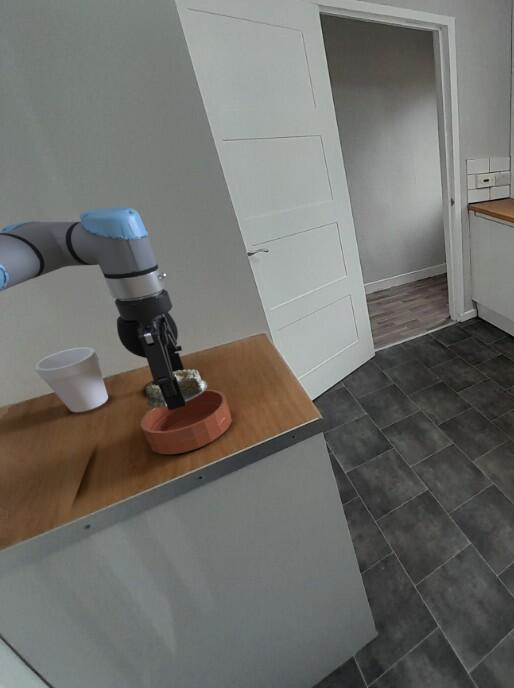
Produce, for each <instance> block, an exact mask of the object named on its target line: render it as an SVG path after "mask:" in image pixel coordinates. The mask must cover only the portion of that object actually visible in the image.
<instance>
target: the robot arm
mask: <svg viewBox="0 0 514 688" xmlns="http://www.w3.org/2000/svg"><path fill="white" fill-rule="evenodd" d="M79 219H80V221H39V220H31V221H27V222H14V223H10V224H7V225H6V226H5V227H3V229H2V230H1V231H0V292H2V291H5V290H7V289H10V288H12V287H14V286H17V285H20V284H22V283H25V282H28V281H30V280H33V279H35V278H38V277H41V276H44V275H46V274H49V273H52V272H55V271H57V270H60V269H62V268H66V267H75V266H76V267H78V266H99V269H100V271H101V273H102V275H103V278H104V281H105V283H106V285H107V289H108V291H109V293H110V295H111V297H112V298H113V299H115V300H114V304H115V306H116V308H117V312H118V315H119V317H120V316H121V318H123V319H125V320H130V321H132V320H135V321H139V325H140V327H137V328H138V333H139V337H138V338H139V339H140V341H141V343H142V346H143V349H144V352H145V355H146V358H145V359H146V361H147V364H148V367H149V370H150V374H151V376H152V381H153V380H154V381H153V382H152V381H150V383H152V385H159V387H160V390H161V392H162V395H163V397H164V400H165V402H166V405H167V407H168V410H172V409H176V408H179V407H183V406H186V402H185V399H184V396H183V394H182V391H181V388H180V386H179V383H178V381H177V378H176V376H174V375H173V372H174V371H178V370H184V369H185V366H184V364H183V361H182V357H181V356H180V353H179V352H181V351H183V347H182V345H178V340H177V341H176V340H175V338H174V335H173V333H172V331H171V328H170V326H169V324H168V322H167V319H166V317H165V313H167V312H168V313H170V311H171V310H172V308H173V303H172V300H171V298H170V297H171V296H170V294H169V292H168V290H166V289H165V288H166V284H165V282H164V279H165V278H166V277H167V275H166V273H165V272H160V268H159V264H158V263H157V261H156V257H155V253H154V251H153V248H152V245H151V242H150V238H149V232H148V229H146V227H145V225H144V223H143V221H142V218H141V216H140V214H139V212H138V211H137V210H135V209H134V208H132V207H125V206H114V207H113V206H112V207H102V208H101V207H100V208H93V209H89V210H84V211H83V212H81V213H80V215H79Z"/></svg>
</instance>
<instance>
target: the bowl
mask: <svg viewBox="0 0 514 688" xmlns="http://www.w3.org/2000/svg"><path fill="white" fill-rule="evenodd" d="M232 419H233V418H232V413H231V409H230V406H229V404H228V400H227V398H226V395H225V394H224V393H223V392H221V391H219V390H215V389H205V390H204V392H202V393H201V394H199V395H198V396H196V397H194V398H193V399H191V400H188V401H186V406H183V407H179V408H176V409H172V410H168V407H161V408H156V407H151V409H149V410H148V411H147V412H146V413H145V415H143V417H142V418H141V422H140V427H141V430H142V432H143V434H144V436H145V438H146V441H147V443H148V446H149V447H150V449H151V451H153V452H154V453H157V454H160V455H177V454H184V453H187V452H191V451H194V450H197V449H199V448H201V447H204V446H206V445H208V444H210V443H212V442H213V441H215V440H216V439H218V438H219V437H220V436H222V435H223V434H224V433H225V432H226V431H227V430H228V428H229V427H230V426H231V423H232V421H233V420H232Z"/></svg>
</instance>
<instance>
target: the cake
mask: <svg viewBox="0 0 514 688" xmlns="http://www.w3.org/2000/svg"><path fill="white" fill-rule="evenodd" d="M173 375H174V376H176V378H177V381H178V383H179V386H180V388H181V391H182V394H183V396H184V399H185V402H186V401H188V400H191V399H193V398H194V397H196V396H198V395H199V394H201V393H202V392H204V390H207V388H208V383H207V381H205V380H202V377H201V374H200V372H199V370H198V369H185V368H184V370H178V371H174V372H173ZM152 381H154V380H153V379H152ZM146 386H147V387H146ZM146 386H145V388H146V391H147V395H146V398H147V400H146V405H148V406H149V407H151V408H153V407H156V408H161V407H167V405H166V402H165V400H164V397H163V395H162V392H161V390H160V387H159V385H152V383H151V382H148V384H147V385H146Z"/></svg>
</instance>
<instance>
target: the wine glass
mask: <svg viewBox="0 0 514 688" xmlns="http://www.w3.org/2000/svg"><path fill="white" fill-rule="evenodd" d="M165 317H166V319H167V322H168V324H169V326H170V328H171V331H172V333H173V335H174V338H175V340H176V341H177V342H178V336H179V332H178V331H179V329H178V327H177V324H176V322H175V320H174V318H173V316H172V315H171V314H170V312H167V313H165ZM137 327H140V325H139V321H135V320H132V321H130V320H125V319H123V318H121V316H120V315H119V316H118V317H117V319H116V329H117V336H118V339H119V341H120V342H121V344H122V346H123V347H124V348H125V349H126V350H127V351H128V352H130V353H131V354H133V355H134V356H137V357H140V358H145V359H147V358H146V355H145V352H144V349H143V346H142V343H141V341H140V339H139V338H138V337H139V333H138V328H137ZM151 382H153V380H152V381H151ZM146 387H147V385H146V386H145V388H144V390H143V391H144V394H145V395H146V396H147V391H146Z"/></svg>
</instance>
